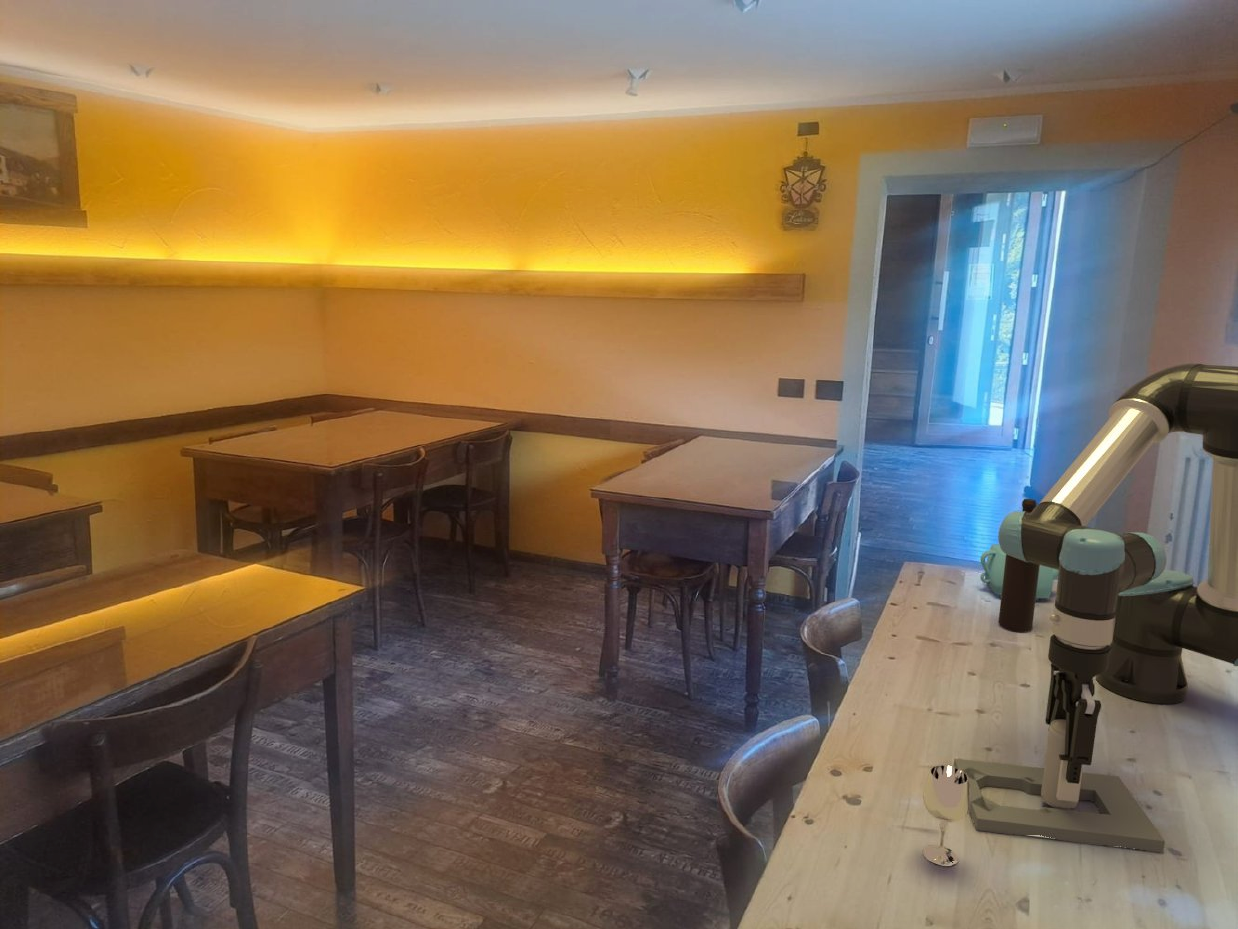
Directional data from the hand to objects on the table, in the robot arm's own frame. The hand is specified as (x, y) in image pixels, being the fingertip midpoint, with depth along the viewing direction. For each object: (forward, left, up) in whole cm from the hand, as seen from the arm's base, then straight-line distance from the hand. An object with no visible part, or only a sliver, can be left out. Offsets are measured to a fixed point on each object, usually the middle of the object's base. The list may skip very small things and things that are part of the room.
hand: (1061, 788), depth 123 cm
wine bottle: (-13, -74, -3) cm, 75 cm away
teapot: (-21, -98, -3) cm, 100 cm away
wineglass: (+19, +15, -3) cm, 25 cm away
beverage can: (0, 0, -2) cm, 2 cm away
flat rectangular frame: (+1, 0, -3) cm, 3 cm away
